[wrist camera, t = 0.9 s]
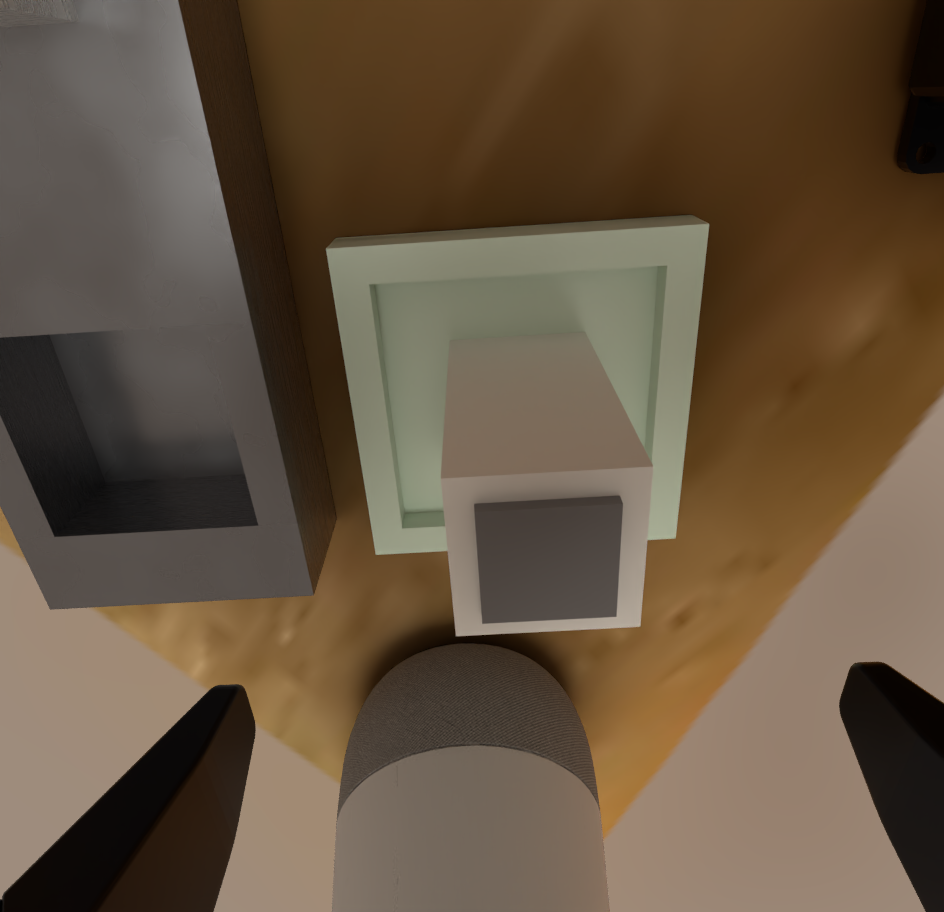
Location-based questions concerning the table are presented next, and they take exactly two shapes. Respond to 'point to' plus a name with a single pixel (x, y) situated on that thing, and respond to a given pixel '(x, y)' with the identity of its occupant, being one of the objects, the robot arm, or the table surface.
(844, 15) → the table surface
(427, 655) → the smart speaker
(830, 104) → the table surface
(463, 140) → the table surface
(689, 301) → the tray
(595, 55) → the table surface
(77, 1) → the grey socket block
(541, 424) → the plug
